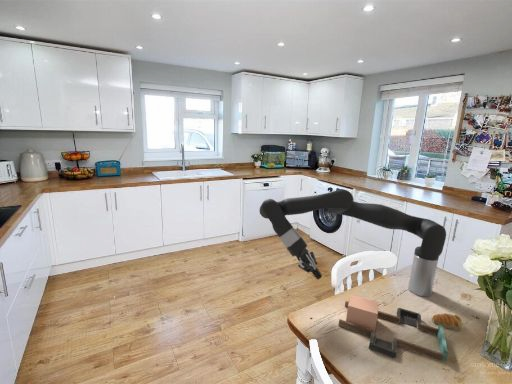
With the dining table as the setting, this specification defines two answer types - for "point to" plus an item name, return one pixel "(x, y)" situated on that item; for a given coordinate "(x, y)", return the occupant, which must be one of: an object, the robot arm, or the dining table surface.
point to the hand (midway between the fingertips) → (320, 277)
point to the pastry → (448, 321)
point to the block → (362, 312)
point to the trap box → (385, 346)
